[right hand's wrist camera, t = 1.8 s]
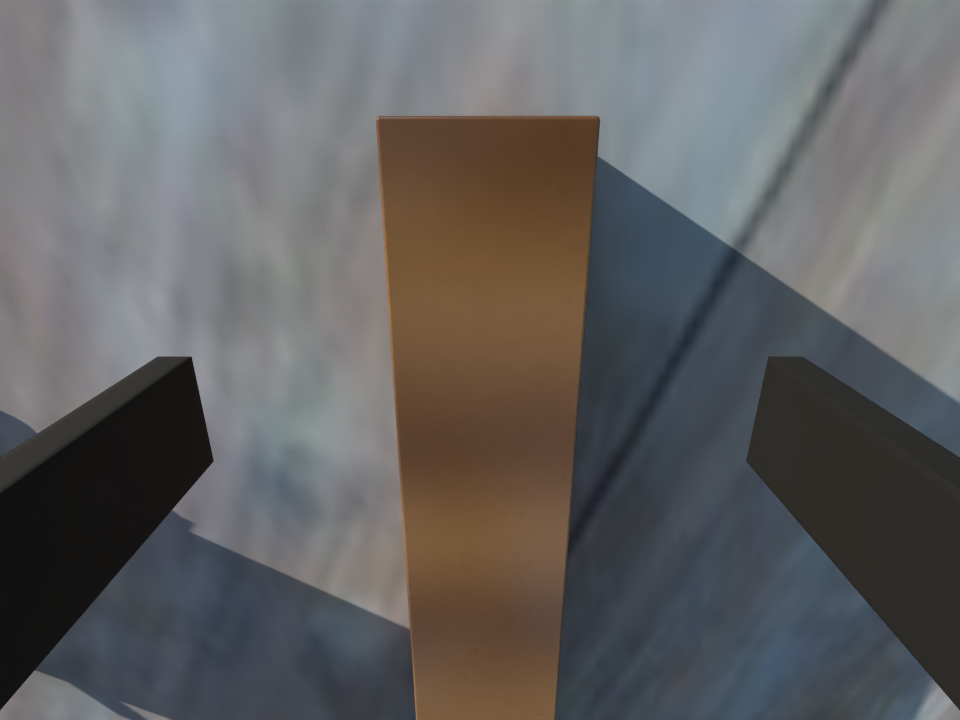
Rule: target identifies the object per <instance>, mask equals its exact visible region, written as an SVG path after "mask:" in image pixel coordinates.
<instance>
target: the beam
mask: <svg viewBox="0 0 960 720" xmlns="http://www.w3.org/2000/svg"><path fill="white" fill-rule="evenodd" d="M376 128H377V143H378V158H379V173H380V188H381V203H382V218H383V233H384V248H385V263H386V277H387V292H388V307H389V322H390V337H391V352H392V367H393V382H394V397H395V412H396V427H397V442H398V457H399V472H400V487H401V502H402V517H403V532H404V547H405V562H406V577H407V591H408V606H409V621H410V636H411V651H412V666H413V681H414V696H415V711H416V720H555V716H556V703H557V689H558V676H559V663H560V649H561V636H562V622H563V609H564V596H565V582H566V569H567V556H568V542H569V529H570V516H571V502H572V489H573V475H574V462H575V449H576V435H577V422H578V409H579V395H580V382H581V368H582V355H583V342H584V328H585V315H586V302H587V288H588V275H589V261H590V248H591V235H592V221H593V208H594V195H595V181H596V168H597V155H598V141H599V128H600V118H599V117H598V116H379V117H377V119H376Z"/></svg>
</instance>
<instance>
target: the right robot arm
mask: <svg viewBox="0 0 960 720" xmlns="http://www.w3.org/2000/svg"><path fill="white" fill-rule="evenodd" d="M212 462H213V456H212V451H211V447H210V442H209V437H208V432H207V428H206V423H205V418H204V414H203V409H202V404H201V399H200V395H199V390H198V385H197V381H196V376H195V371H194V366H193V362H192V357H157V358H155V359H153V360H152V361H150V362H149V363H147V364H146V365H144V366H142V367H141V368H139V369H138V370H136V371H135V372H133V373H132V374H130V375H128V376H127V377H125V378H124V379H122V380H121V381H119V382H118V383H116V384H114V385H113V386H111V387H110V388H108V389H107V390H105V391H103V392H102V393H100V394H99V395H97V396H96V397H94V398H93V399H91V400H89V401H88V402H86V403H85V404H83V405H82V406H80V407H79V408H77V409H75V410H74V411H72V412H71V413H69V414H68V415H66V416H64V417H63V418H61V419H60V420H58V421H57V422H55V423H54V424H52V425H50V426H49V427H47V428H46V429H44V430H43V431H41V432H39V433H38V434H36V435H35V436H33V437H32V438H30V439H29V440H27V441H25V442H24V443H22V444H21V445H19V446H18V447H16V448H15V449H13V450H11V451H10V452H8V453H7V454H5V455H4V456H2V457H0V710H1V709H2V707H3V706H4V705H5V704H6V703H7V702H8V700H9V699H10V698H11V697H12V696H13V695H14V693H15V692H16V691H17V690H18V689H19V688H20V686H21V685H22V684H23V683H24V682H25V681H26V679H27V678H28V677H29V676H30V675H31V674H32V672H33V671H34V670H35V669H36V668H37V667H38V665H39V664H40V663H41V662H42V661H43V660H44V658H45V657H46V656H47V655H48V654H49V653H50V651H51V650H52V649H53V648H54V647H55V646H56V644H57V643H58V642H59V641H60V640H61V639H62V637H63V636H64V635H65V634H66V633H67V632H68V630H69V629H70V628H71V627H72V626H73V625H74V623H75V622H76V621H77V620H78V619H79V618H80V616H81V615H82V614H83V613H84V612H85V611H86V609H87V608H88V607H89V606H90V605H91V604H92V602H93V601H94V600H95V599H96V598H97V597H98V595H99V594H100V593H101V592H102V591H103V590H104V588H105V587H106V586H107V585H108V584H109V583H110V581H111V580H112V579H113V578H114V577H115V576H116V574H117V573H118V572H119V571H120V570H121V569H122V567H123V566H124V565H125V564H126V563H127V562H128V560H129V559H130V558H131V557H132V556H133V555H134V553H135V552H136V551H137V550H138V549H139V548H140V546H141V545H142V544H143V543H144V542H145V541H146V539H147V538H148V537H149V536H150V535H151V534H152V532H153V531H154V530H155V529H156V528H157V527H158V525H159V524H160V523H161V522H162V521H163V520H164V518H165V517H166V516H167V515H168V514H169V513H170V511H171V510H172V509H173V508H174V507H175V506H176V504H177V503H178V502H179V501H180V500H181V499H182V497H183V496H184V495H185V494H186V493H187V492H188V490H189V489H190V488H191V487H192V486H193V485H194V483H195V482H196V481H197V480H198V479H199V478H200V476H201V475H202V474H203V473H204V472H205V471H206V469H207V468H208V467H209V466H210V465H211V464H212ZM747 462H748V464H749V465H750V466H751V467H752V468H753V469H754V471H755V472H756V473H757V474H758V475H759V476H760V478H761V479H762V480H763V481H764V482H765V483H766V485H767V486H768V487H769V488H770V489H771V490H772V492H773V493H774V494H775V495H776V496H777V497H778V499H779V500H780V501H781V502H782V503H783V504H784V506H785V507H786V508H787V509H788V510H789V511H790V513H791V514H792V515H793V516H794V517H795V518H796V520H797V521H798V522H799V523H800V524H801V525H802V527H803V528H804V529H805V530H806V531H807V532H808V534H809V535H810V536H811V537H812V538H813V539H814V541H815V542H816V543H817V544H818V545H819V546H820V548H821V549H822V550H823V551H824V552H825V553H826V555H827V556H828V557H829V558H830V559H831V560H832V562H833V563H834V564H835V565H836V566H837V567H838V569H839V570H840V571H841V572H842V573H843V574H844V576H845V577H846V578H847V579H848V580H849V581H850V583H851V584H852V585H853V586H854V587H855V588H856V590H857V591H858V592H859V593H860V594H861V595H862V597H863V598H864V599H865V600H866V601H867V602H868V604H869V605H870V606H871V607H872V608H873V609H874V611H875V612H876V613H877V614H878V615H879V616H880V618H881V619H882V620H883V621H884V622H885V623H886V625H887V626H888V627H889V628H890V629H891V630H892V632H893V633H894V634H895V635H896V636H897V637H898V639H899V640H900V641H901V642H902V643H903V644H904V646H905V647H906V648H907V649H908V650H909V651H910V653H911V654H912V655H913V656H914V657H915V658H916V660H917V661H918V662H919V663H920V664H921V665H922V667H923V668H924V669H925V670H926V671H927V672H928V674H929V675H930V676H931V677H932V678H933V679H934V681H935V682H936V683H937V684H938V685H939V686H940V688H941V689H942V690H943V691H944V692H945V693H946V695H947V696H948V697H949V698H950V699H951V700H952V702H953V703H954V704H955V705H956V706H957V707H958V709H959V710H960V457H958V456H956V455H955V454H953V453H952V452H950V451H949V450H947V449H945V448H944V447H942V446H941V445H939V444H938V443H936V442H935V441H933V440H931V439H930V438H928V437H927V436H925V435H924V434H922V433H921V432H919V431H917V430H916V429H914V428H913V427H911V426H910V425H908V424H906V423H905V422H903V421H902V420H900V419H899V418H897V417H896V416H894V415H892V414H891V413H889V412H888V411H886V410H885V409H883V408H881V407H880V406H878V405H877V404H875V403H874V402H872V401H871V400H869V399H867V398H866V397H864V396H863V395H861V394H860V393H858V392H857V391H855V390H853V389H852V388H850V387H849V386H847V385H846V384H844V383H842V382H841V381H839V380H838V379H836V378H835V377H833V376H832V375H830V374H828V373H827V372H825V371H824V370H822V369H821V368H819V367H818V366H816V365H814V364H813V363H811V362H810V361H808V360H807V359H805V358H803V357H768V362H767V366H766V371H765V376H764V381H763V385H762V390H761V395H760V399H759V404H758V409H757V414H756V418H755V423H754V428H753V432H752V437H751V442H750V447H749V451H748V456H747Z"/></svg>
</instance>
